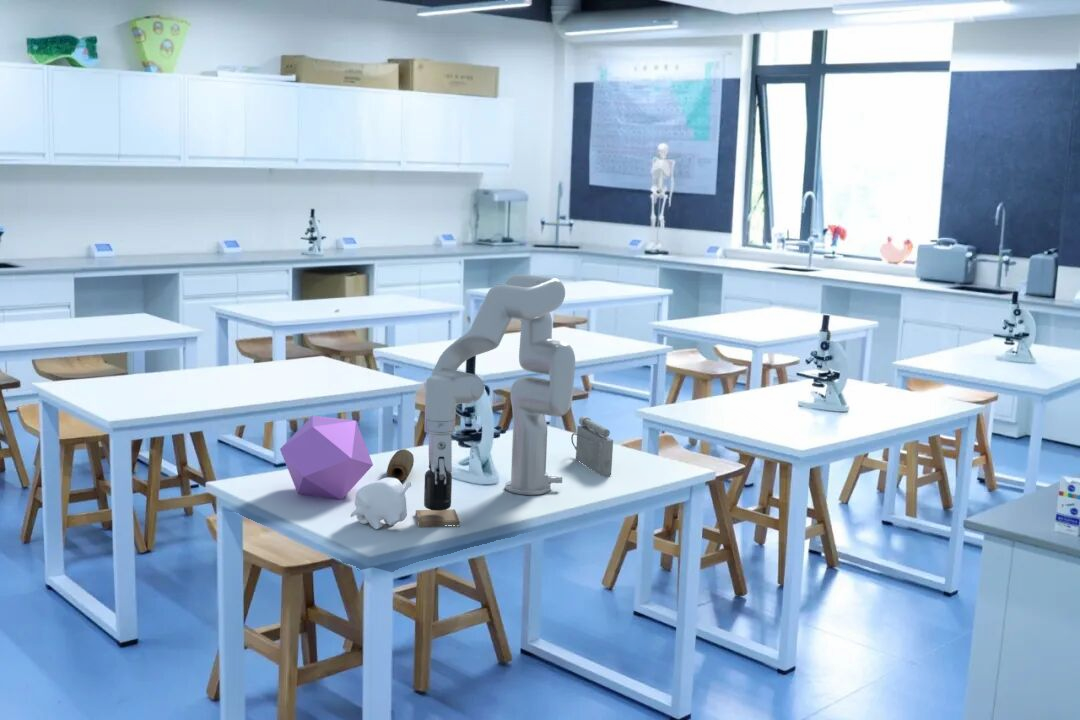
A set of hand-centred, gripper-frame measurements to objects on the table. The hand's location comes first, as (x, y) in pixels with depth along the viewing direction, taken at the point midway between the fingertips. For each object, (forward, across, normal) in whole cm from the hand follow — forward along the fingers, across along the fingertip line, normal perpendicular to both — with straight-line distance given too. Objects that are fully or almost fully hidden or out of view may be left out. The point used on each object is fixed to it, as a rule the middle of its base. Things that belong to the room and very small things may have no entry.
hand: (437, 494), depth 287 cm
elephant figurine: (+7, -3, +14) cm, 16 cm away
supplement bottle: (+3, 0, 0) cm, 3 cm away
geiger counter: (+7, +50, -51) cm, 72 cm away
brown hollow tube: (+7, +41, +6) cm, 42 cm away
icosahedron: (+7, +26, +27) cm, 38 cm away
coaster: (+7, 0, 0) cm, 7 cm away
